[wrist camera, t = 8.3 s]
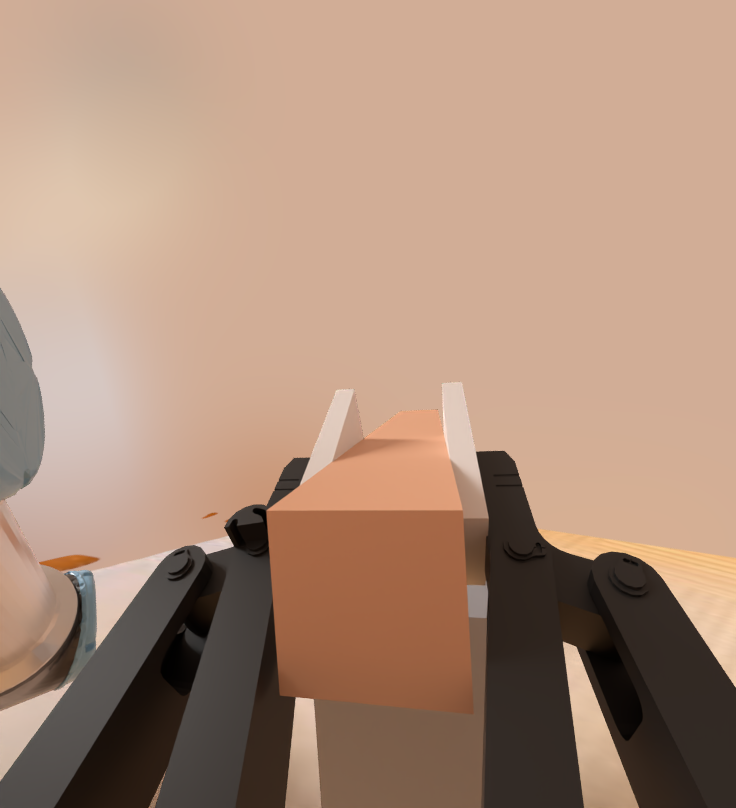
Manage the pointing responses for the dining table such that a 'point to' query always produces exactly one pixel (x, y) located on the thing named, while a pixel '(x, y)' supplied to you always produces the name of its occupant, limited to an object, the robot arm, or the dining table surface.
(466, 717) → the stand
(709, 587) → the dining table surface
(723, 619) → the dining table surface
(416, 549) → the rail
